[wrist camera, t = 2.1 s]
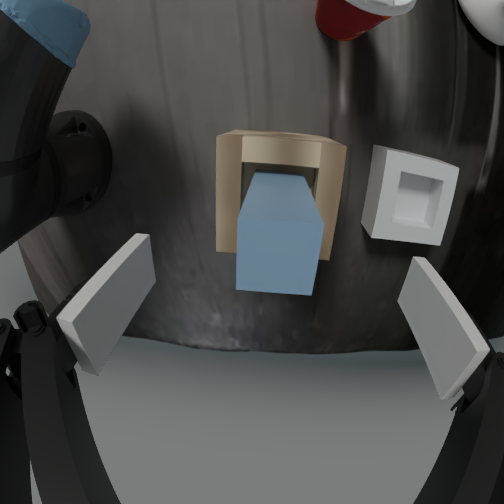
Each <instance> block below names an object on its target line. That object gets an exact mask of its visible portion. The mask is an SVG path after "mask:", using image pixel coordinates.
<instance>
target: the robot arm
mask: <svg viewBox="0 0 504 504" xmlns="http://www.w3.org/2000/svg"><path fill="white" fill-rule="evenodd" d="M89 31H90V20H89V18H88V17H87V15H86V14H85V13H84V12H82V11H81V10H79V9H78V8H76V7H74V6H72V5H70V4H69V3H67V2H65V1H63V0H0V253H1V252H3V251H4V250H5V249H7V248H8V247H9V246H11V245H12V244H13V243H14V242H15V241H17V240H18V239H20V238H21V237H23V236H24V235H25V234H27V233H28V232H29V231H31V230H32V229H34V228H35V227H37V226H38V225H40V224H41V223H43V222H44V221H46V220H47V219H49V218H52V217H60V216H68V215H75V214H78V213H81V212H83V211H85V210H86V209H88V208H90V207H91V206H93V205H94V204H95V203H97V202H98V201H99V200H100V198H101V197H102V196H103V194H104V192H105V190H106V188H107V186H108V183H109V179H110V175H111V167H112V158H111V149H110V145H109V141H108V138H107V136H106V133H105V131H104V129H103V128H102V126H101V125H100V123H99V122H98V121H97V120H96V119H95V118H94V117H93V116H91V115H90V114H88V113H86V112H83V111H78V110H73V111H64V112H60V113H57V114H55V115H53V113H54V111H55V108H56V105H57V103H58V100H59V97H60V95H61V92H62V90H63V88H64V85H65V83H66V81H67V78H68V76H69V74H70V72H71V70H72V68H73V69H74V68H75V66H76V59H77V57H78V54H79V52H80V50H81V48H82V46H83V44H84V42H85V40H86V38H87V36H88V34H89ZM155 282H156V278H155V271H154V265H153V258H152V251H151V243H150V235H149V234H139V233H136V234H135V235H134V236H133V237H132V238H131V239H130V240H129V241H128V242H126V243H125V244H124V245H123V246H122V247H121V248H120V249H119V250H118V251H117V252H116V253H115V254H114V255H113V256H112V257H111V258H110V259H109V260H108V261H107V262H106V263H105V264H104V265H103V266H102V267H101V268H100V269H99V270H98V271H97V273H96V274H95V275H94V276H93V277H92V278H91V279H90V280H85V281H84V282H82V283H80V284H79V285H77V286H76V287H75V288H74V289H73V290H72V292H71V294H69V295H68V296H67V297H66V298H65V300H63V301H62V302H61V304H60V305H59V306H58V307H57V308H56V309H55V310H54V311H53V313H52V314H51V315H50V316H49V317H47V314H46V312H45V310H44V307H43V305H42V303H40V302H39V301H35V300H34V301H28V302H26V303H24V304H22V305H21V306H19V307H18V308H17V310H16V311H15V313H14V315H13V317H14V319H15V321H16V322H17V325H18V327H19V328H20V329H14V327H13V326H12V324H11V322H10V320H8V319H5V318H3V319H0V504H32V495H31V480H30V460H31V464H32V469H33V473H34V477H35V481H36V484H37V487H38V491H39V495H40V498H41V501H42V504H121V503H120V501H119V499H118V497H117V495H116V493H115V491H114V489H113V486H112V484H111V482H110V480H109V477H108V475H107V473H106V470H105V468H104V465H103V463H102V460H101V458H100V455H99V452H98V450H97V447H96V444H95V441H94V438H93V435H92V432H91V429H90V425H89V422H88V419H87V415H86V412H85V408H84V404H83V400H82V396H81V392H80V388H79V383H78V379H77V374H76V371H75V369H74V365H75V364H76V362H77V361H78V363H79V365H80V366H81V368H82V370H83V371H85V372H88V373H91V374H94V375H97V376H98V375H99V373H100V372H101V370H102V368H103V366H104V365H105V363H106V361H107V359H108V357H109V356H110V354H111V352H112V351H113V349H114V347H115V346H116V344H117V342H118V341H119V339H120V337H121V336H122V334H123V332H124V331H125V329H126V327H127V326H128V324H129V323H130V321H131V319H132V318H133V316H134V315H135V313H136V311H137V310H138V308H139V307H140V305H141V304H142V302H143V300H144V299H145V297H146V296H147V294H148V293H149V291H150V290H151V288H152V287H153V285H154V284H155ZM398 303H399V305H400V307H401V309H402V311H403V313H404V315H405V317H406V319H407V321H408V323H409V325H410V327H411V329H412V332H413V334H414V336H415V338H416V340H417V343H418V345H419V347H420V349H421V352H422V354H423V356H424V358H425V361H426V363H427V366H428V368H429V371H430V373H431V376H432V378H433V381H434V383H435V386H436V389H437V391H438V394H439V397H440V399H441V400H442V399H447V398H451V397H454V396H455V395H456V394H457V393H458V392H459V390H460V389H461V388H463V391H464V394H463V395H462V396H461V398H460V399H459V400H458V401H457V402H456V403H455V404H454V406H453V407H452V408H451V411H453V409H455V407H457V406H458V407H457V410H456V411H455V416H454V419H453V422H452V425H451V427H450V430H449V433H448V435H447V438H446V440H445V442H444V445H443V447H442V449H441V452H440V454H439V456H438V458H437V460H436V463H435V465H434V467H433V469H432V471H431V473H430V475H429V477H428V479H427V480H426V482H425V484H424V486H423V488H422V490H421V492H420V493H419V495H418V497H417V498H416V500H415V502H414V503H413V504H504V353H502V352H497V353H496V352H495V351H494V349H493V347H492V346H491V344H490V342H489V341H488V339H487V337H486V336H485V334H484V333H483V332H482V330H481V328H480V327H479V325H477V324H478V323H477V322H476V321H475V319H474V318H473V316H472V315H471V314H470V313H469V312H467V311H466V310H465V309H464V308H463V307H462V305H461V304H460V302H459V301H458V300H457V298H456V297H455V295H454V294H453V293H452V291H451V290H450V289H449V287H448V286H447V285H446V283H445V282H444V281H443V280H442V278H441V277H440V276H439V274H438V273H437V272H436V271H435V269H434V268H433V267H432V266H431V264H430V263H429V262H428V261H427V260H426V258H424V257H414V256H413V258H412V262H411V265H410V268H409V271H408V274H407V276H406V279H405V282H404V285H403V288H402V290H401V293H400V296H399V298H398ZM7 367H8V369H9V370H10V374H9V376H7V374H6V368H7Z"/></svg>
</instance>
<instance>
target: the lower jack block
mask: <svg viewBox="0 0 504 504" xmlns="http://www.w3.org/2000/svg"><path fill="white" fill-rule="evenodd" d="M458 172H459V168H458V167H455V166H453V165H451V164H448V163H446V162H443V161H441V160H437V159H434V158H430V157H426V156H422V155H419V154H415V153H411V152H406V151H402V150H398V149H393V148H389V147H384V146H379V145H373V153H372V160H371V167H370V174H369V180H368V187H367V193H366V198H365V204H364V209H363V214H362V220H361V224H362V225H363V226H364V228H365V229H366V231H367V232H368V234H369V235H370V237H371V238H378V239H387V240H396V241H405V242H414V243H422V244H431V245H439V246H440V243H441V240H442V237H443V234H444V230H445V227H446V223H447V220H448V216H449V212H450V208H451V204H452V200H453V196H454V191H455V187H456V182H457V177H458Z"/></svg>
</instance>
